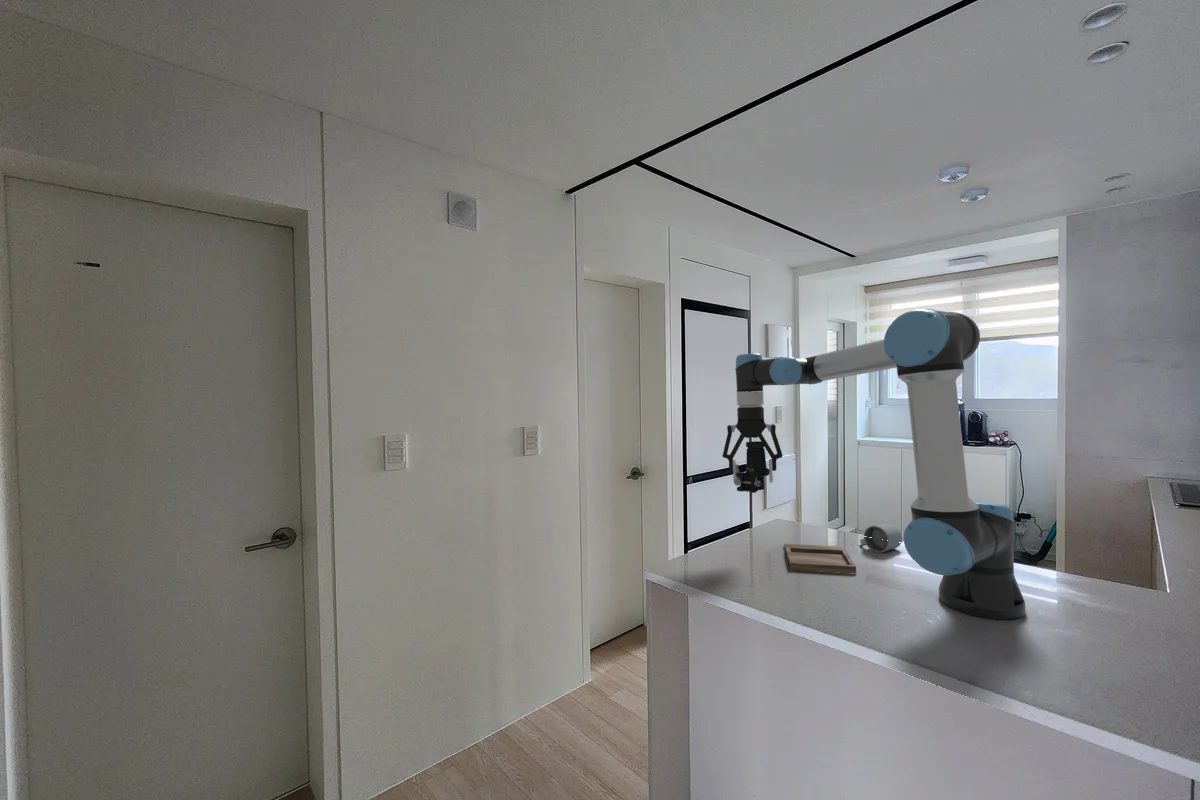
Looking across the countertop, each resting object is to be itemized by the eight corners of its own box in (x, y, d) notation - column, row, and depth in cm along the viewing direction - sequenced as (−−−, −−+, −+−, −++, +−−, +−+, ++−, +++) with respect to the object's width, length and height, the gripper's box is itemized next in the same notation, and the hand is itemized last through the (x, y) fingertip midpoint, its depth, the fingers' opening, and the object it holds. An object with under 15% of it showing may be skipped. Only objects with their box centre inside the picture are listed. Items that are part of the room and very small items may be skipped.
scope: (732, 443, 145) (748, 440, 153) (734, 490, 146) (750, 485, 153) (757, 444, 140) (774, 441, 147) (759, 493, 140) (776, 487, 147)
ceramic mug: (905, 550, 145) (903, 524, 145) (888, 555, 141) (887, 529, 141) (870, 542, 155) (869, 517, 155) (854, 546, 151) (853, 521, 151)
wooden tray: (856, 574, 129) (856, 566, 129) (790, 570, 133) (790, 562, 133) (841, 549, 148) (841, 543, 148) (784, 546, 152) (784, 540, 152)
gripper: (789, 404, 147) (791, 479, 147) (712, 406, 153) (715, 479, 153) (791, 405, 140) (794, 484, 140) (711, 407, 146) (713, 483, 146)
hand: (752, 481), depth 146 cm, fingers closed on scope, 10 cm apart
